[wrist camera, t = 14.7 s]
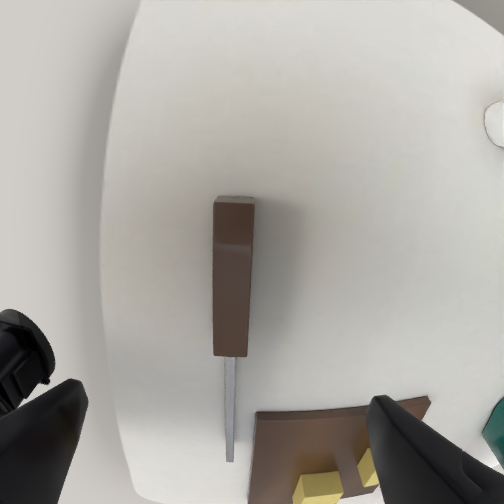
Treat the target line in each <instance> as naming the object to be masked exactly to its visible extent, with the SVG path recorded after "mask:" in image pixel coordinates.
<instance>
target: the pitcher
mask: <svg viewBox="0 0 504 504" xmlns="http://www.w3.org/2000/svg"><path fill="white" fill-rule="evenodd" d="M483 438H484V439H485V441H486V442H487V444H488V445H489V447H490V448H491V450H492V452H493V453H494V455H495V456H496V458H497V460H498V461H499V463H500V464H501V466H502V468H503V469H504V399H502V400H501V401H500V403H499V404H498V405H497V406H496V408H495V409H494V411H493V413H492V415H491V417H490V419H489V421H488V423H487V425H486V427H485V429H484V430H483Z"/></svg>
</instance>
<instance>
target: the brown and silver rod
mask: <svg viewBox="0 0 504 504" xmlns="http://www.w3.org/2000/svg"><path fill="white" fill-rule="evenodd" d="M254 212H255V203H254V198H253V197H234V196H218V198H217V199H216V200H215V202H214V204H213V354H214V356H225V419H226V462H233V459H234V414H235V368H236V357H247V350H248V330H249V311H250V291H251V271H252V252H253V232H254Z"/></svg>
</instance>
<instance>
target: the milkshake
mask: <svg viewBox="0 0 504 504" xmlns="http://www.w3.org/2000/svg"><path fill="white" fill-rule="evenodd" d="M484 123H485V127H486V130H487V134H488V137H489V138H490V139H491V140H492V142H493V143H494V144H495V145H497V146H502V147H504V102H499V103H495V104H491V105H490V106H489V108H488V109H487V110H486V111H485V121H484Z"/></svg>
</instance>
